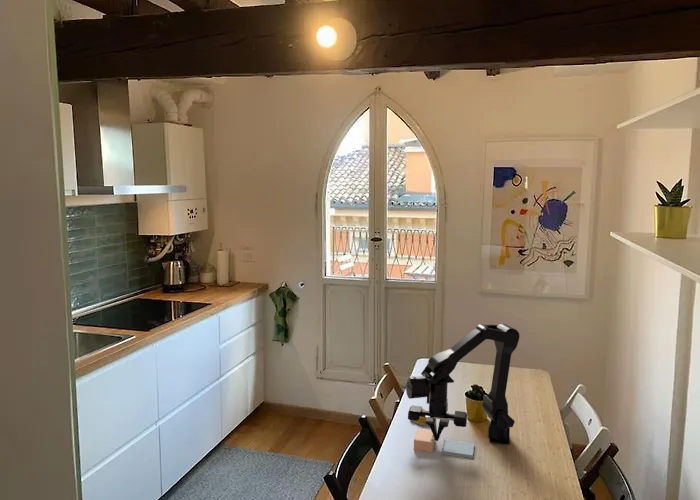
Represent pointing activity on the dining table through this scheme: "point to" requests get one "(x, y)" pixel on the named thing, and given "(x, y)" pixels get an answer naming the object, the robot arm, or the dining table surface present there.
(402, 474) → the dining table surface
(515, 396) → the dining table surface
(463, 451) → the blue-grey flat panel
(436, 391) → the robot arm
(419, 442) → the stub
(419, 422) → the bread roll
